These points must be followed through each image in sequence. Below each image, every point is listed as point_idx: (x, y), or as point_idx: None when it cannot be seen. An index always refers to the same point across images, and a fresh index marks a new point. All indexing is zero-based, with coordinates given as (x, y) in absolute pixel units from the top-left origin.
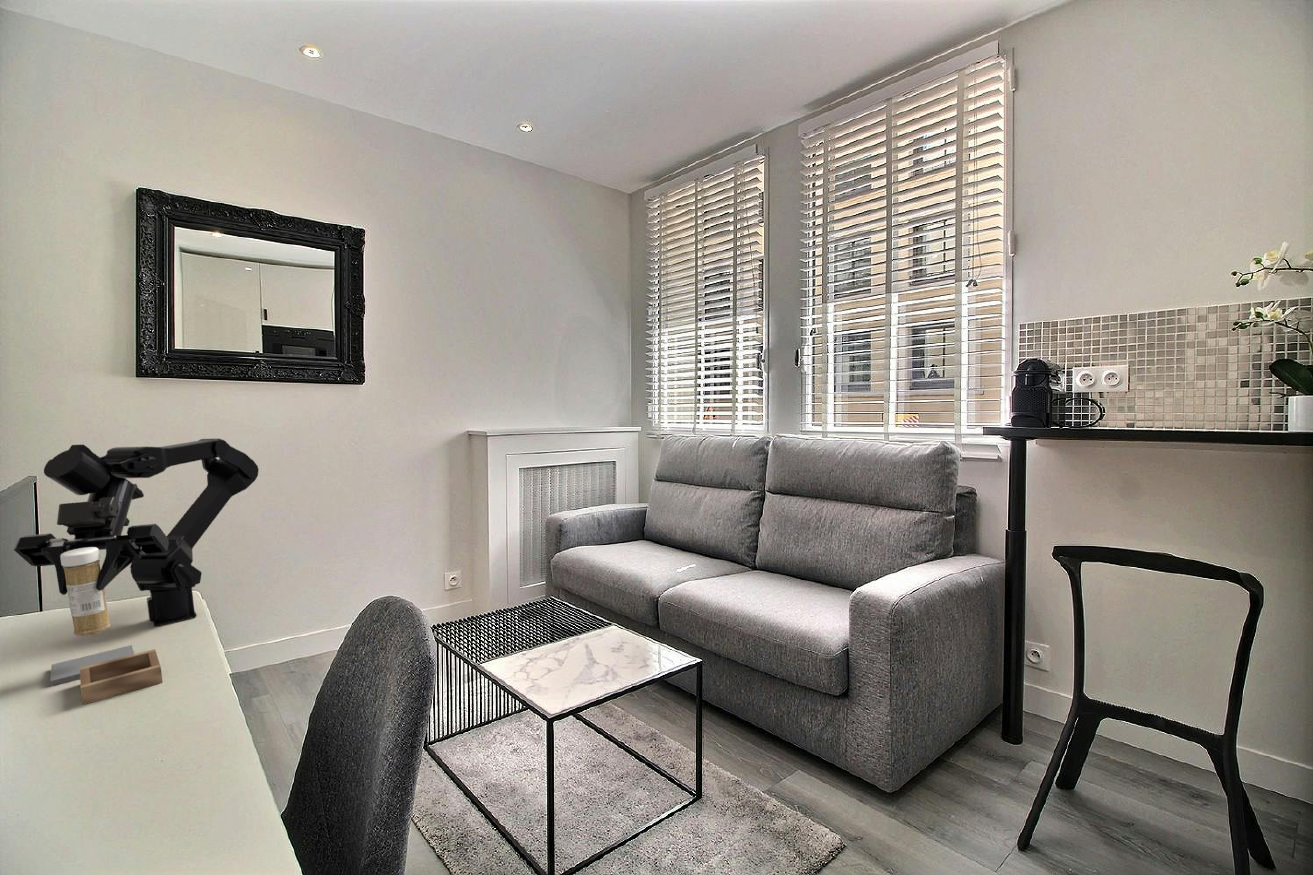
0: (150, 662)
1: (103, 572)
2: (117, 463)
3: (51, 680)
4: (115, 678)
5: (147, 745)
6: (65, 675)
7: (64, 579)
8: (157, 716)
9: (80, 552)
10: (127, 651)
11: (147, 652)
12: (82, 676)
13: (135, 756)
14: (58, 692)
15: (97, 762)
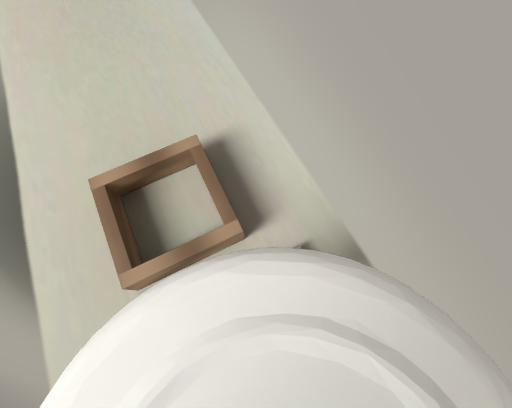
0: (112, 208)
1: None
2: None
3: (299, 248)
4: (152, 153)
5: (83, 26)
6: None
7: None
8: (87, 84)
9: (191, 354)
10: None
11: (133, 271)
12: (217, 184)
13: (90, 11)
14: (268, 213)
15: (124, 11)
